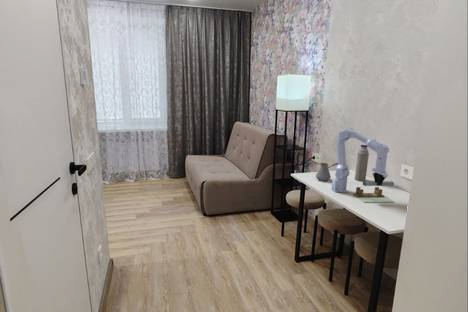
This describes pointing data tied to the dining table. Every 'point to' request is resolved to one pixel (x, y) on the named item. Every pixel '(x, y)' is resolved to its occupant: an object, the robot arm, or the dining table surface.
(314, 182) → the dining table surface
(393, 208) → the dining table surface
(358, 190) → the rack
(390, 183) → the rail
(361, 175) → the thermos bottle
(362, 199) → the pad
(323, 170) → the coffee pot
